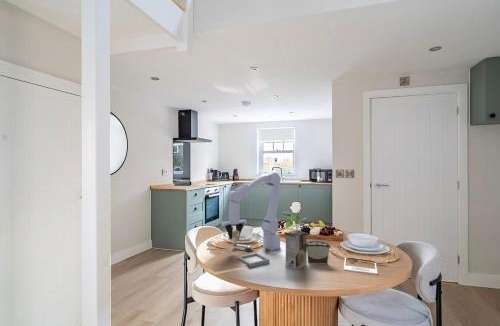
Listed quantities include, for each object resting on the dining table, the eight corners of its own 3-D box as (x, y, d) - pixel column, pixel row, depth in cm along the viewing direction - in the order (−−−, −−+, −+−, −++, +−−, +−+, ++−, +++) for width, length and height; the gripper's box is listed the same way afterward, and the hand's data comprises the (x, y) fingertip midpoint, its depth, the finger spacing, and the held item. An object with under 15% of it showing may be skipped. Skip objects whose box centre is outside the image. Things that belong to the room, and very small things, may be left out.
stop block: (235, 238, 158) (235, 229, 158) (239, 240, 155) (239, 230, 155) (229, 239, 156) (229, 230, 156) (232, 241, 153) (232, 231, 153)
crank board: (245, 246, 170) (245, 243, 170) (257, 252, 159) (257, 249, 159) (222, 250, 162) (222, 247, 162) (233, 257, 151) (233, 254, 151)
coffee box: (296, 261, 145) (296, 229, 145) (306, 265, 141) (307, 232, 140) (284, 266, 139) (285, 233, 139) (295, 270, 134) (296, 235, 134)
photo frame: (343, 268, 134) (345, 256, 151) (343, 271, 134) (345, 258, 151) (377, 273, 129) (375, 260, 146) (377, 275, 129) (375, 262, 146)
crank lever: (252, 248, 160) (252, 239, 160) (250, 249, 158) (250, 241, 158) (234, 245, 166) (234, 237, 166) (231, 246, 163) (232, 238, 163)
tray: (256, 256, 152) (256, 252, 152) (269, 263, 143) (269, 259, 143) (237, 260, 146) (237, 256, 146) (249, 267, 136) (249, 263, 136)
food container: (328, 260, 148) (328, 240, 148) (330, 264, 142) (330, 244, 142) (304, 259, 149) (304, 239, 149) (305, 263, 143) (305, 243, 143)
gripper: (242, 210, 163) (242, 234, 163) (219, 213, 155) (218, 238, 155) (248, 212, 157) (248, 237, 157) (224, 215, 149) (224, 241, 149)
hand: (234, 238), depth 156 cm, fingers closed on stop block, 4 cm apart
